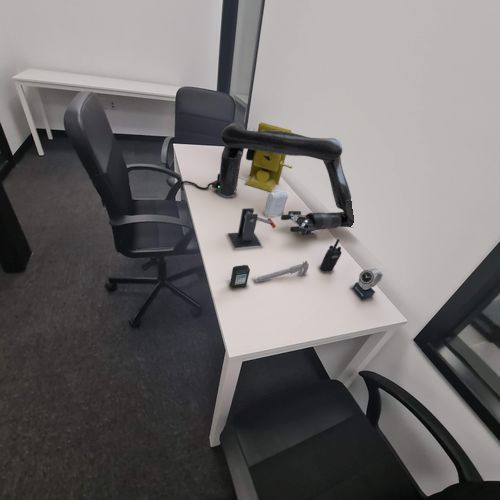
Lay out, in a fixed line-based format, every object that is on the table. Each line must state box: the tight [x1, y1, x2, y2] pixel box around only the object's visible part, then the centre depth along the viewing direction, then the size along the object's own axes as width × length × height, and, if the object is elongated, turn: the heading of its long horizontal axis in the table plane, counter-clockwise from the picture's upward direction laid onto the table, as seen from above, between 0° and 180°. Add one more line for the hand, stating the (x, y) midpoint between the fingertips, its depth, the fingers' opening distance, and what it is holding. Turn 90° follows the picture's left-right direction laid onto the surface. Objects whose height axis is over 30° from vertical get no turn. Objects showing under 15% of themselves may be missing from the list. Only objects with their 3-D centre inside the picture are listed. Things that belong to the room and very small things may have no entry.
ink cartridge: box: [229, 264, 251, 290], centre depth 84 cm, size 5×2×8 cm, turn 111°
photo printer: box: [263, 189, 289, 217], centre depth 123 cm, size 10×4×12 cm, turn 123°
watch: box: [352, 268, 384, 301], centre depth 91 cm, size 6×8×11 cm
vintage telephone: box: [238, 122, 293, 193], centre depth 142 cm, size 31×14×30 cm, turn 73°
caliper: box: [253, 260, 309, 283], centre depth 91 cm, size 20×1×6 cm, turn 112°
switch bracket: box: [227, 207, 262, 249], centre depth 101 cm, size 11×9×14 cm
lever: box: [244, 211, 277, 229], centre depth 101 cm, size 13×5×2 cm, turn 110°
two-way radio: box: [319, 238, 342, 273], centre depth 97 cm, size 6×4×15 cm
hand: (285, 223), depth 107 cm, fingers open, 8 cm apart
